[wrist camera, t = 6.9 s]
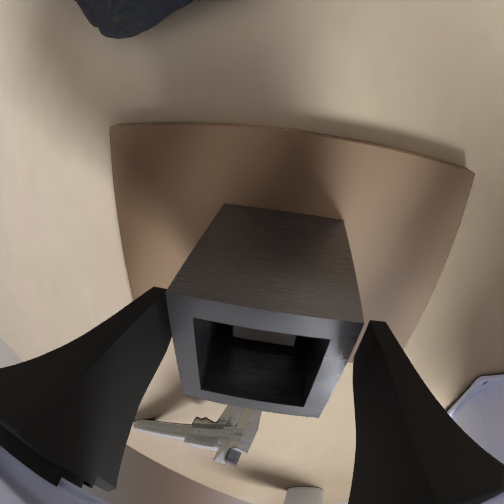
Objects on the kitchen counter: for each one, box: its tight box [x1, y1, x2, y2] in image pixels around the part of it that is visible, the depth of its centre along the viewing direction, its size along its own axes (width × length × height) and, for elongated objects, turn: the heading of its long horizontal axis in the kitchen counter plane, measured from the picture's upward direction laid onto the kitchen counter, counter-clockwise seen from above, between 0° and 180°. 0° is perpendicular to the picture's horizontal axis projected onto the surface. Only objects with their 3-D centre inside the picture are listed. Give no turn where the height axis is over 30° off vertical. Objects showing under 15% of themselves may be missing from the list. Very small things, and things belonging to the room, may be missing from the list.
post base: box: [110, 122, 475, 363], centre depth 13 cm, size 16×12×5 cm
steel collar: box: [165, 203, 364, 418], centre depth 11 cm, size 5×5×6 cm
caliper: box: [133, 405, 261, 466], centre depth 23 cm, size 20×1×6 cm, turn 133°
